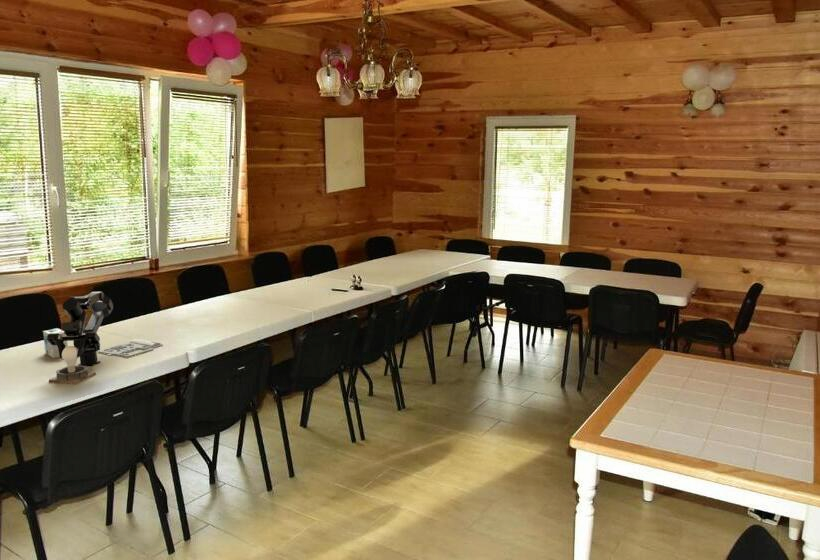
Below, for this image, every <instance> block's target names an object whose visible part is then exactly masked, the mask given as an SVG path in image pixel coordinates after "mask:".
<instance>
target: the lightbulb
mask: <svg viewBox="0 0 820 560" xmlns="http://www.w3.org/2000/svg"><path fill="white" fill-rule="evenodd" d="M77 353H78V349H77V348H76V347H74V345H73V346H72V345H69V346H68V347H66V348H65V349H64V350H63V351H62V358H61V359H63V361H64V362H65V364H66V367H68V372H70V373H73V372H75V371H76V370H75V366H77V365H76V364H77V361H78V359H79V357H77Z"/></svg>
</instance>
